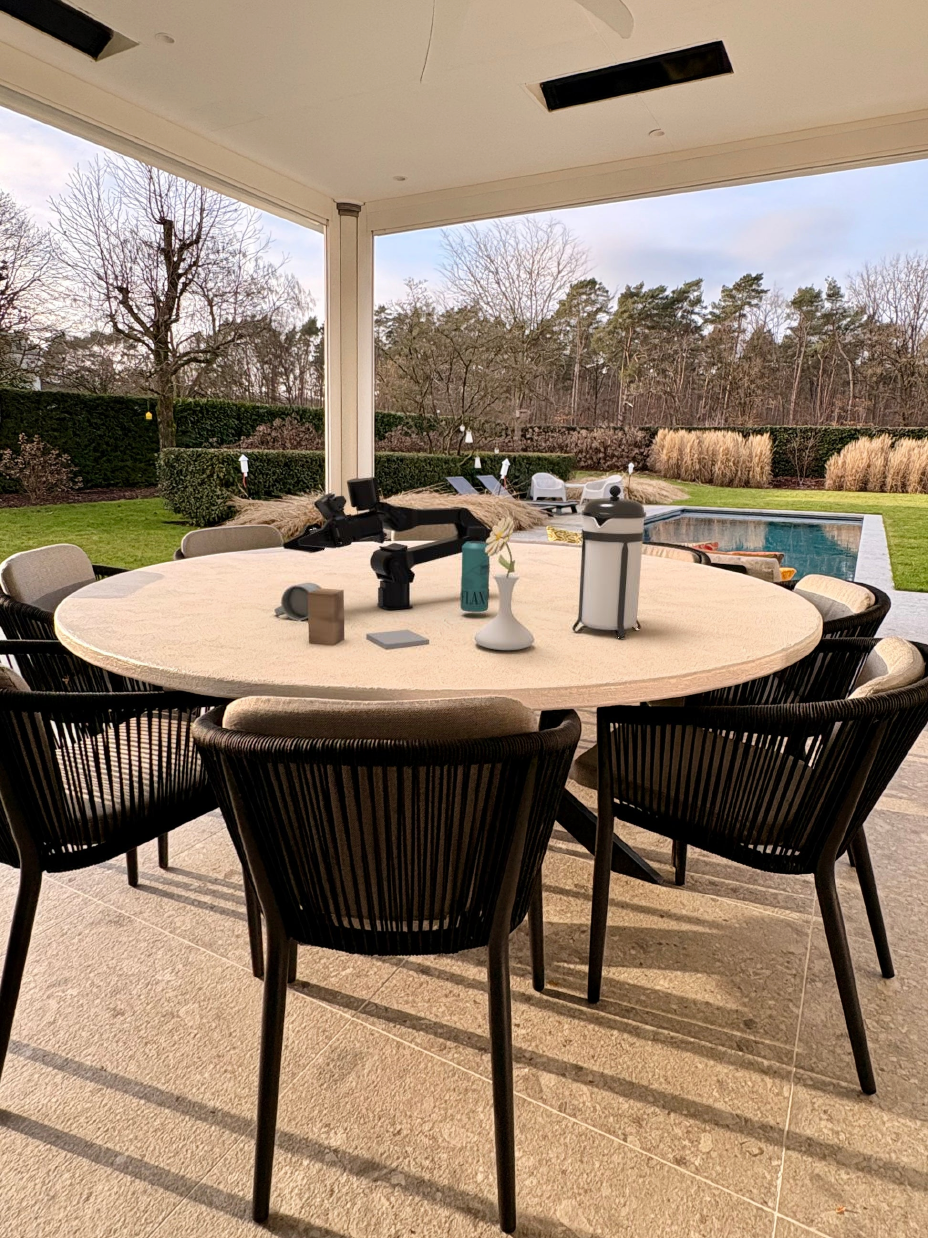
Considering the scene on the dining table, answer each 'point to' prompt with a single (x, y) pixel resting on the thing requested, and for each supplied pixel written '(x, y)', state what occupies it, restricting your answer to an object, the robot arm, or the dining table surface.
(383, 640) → the upper grey slab
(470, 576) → the beverage bottle
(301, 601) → the ceramic mug
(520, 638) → the flower in vase
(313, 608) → the walnut post
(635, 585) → the coffee press
